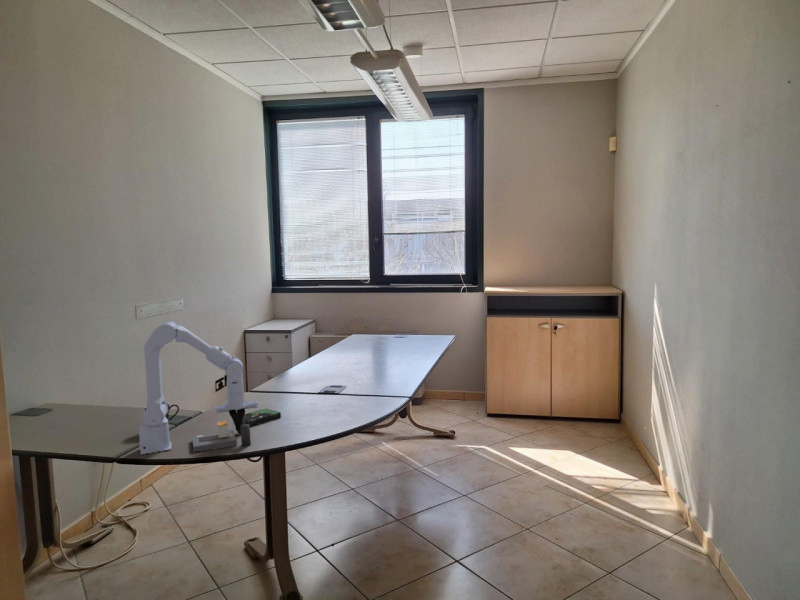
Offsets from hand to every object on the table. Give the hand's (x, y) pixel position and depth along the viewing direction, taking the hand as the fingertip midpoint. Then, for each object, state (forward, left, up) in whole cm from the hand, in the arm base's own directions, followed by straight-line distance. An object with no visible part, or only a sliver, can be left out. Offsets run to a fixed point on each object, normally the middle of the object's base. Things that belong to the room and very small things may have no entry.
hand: (238, 430), depth 192 cm
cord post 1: (+2, +7, -3) cm, 8 cm away
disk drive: (+10, +20, -4) cm, 23 cm away
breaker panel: (-8, 0, -3) cm, 9 cm away
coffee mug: (-25, +25, -4) cm, 36 cm away
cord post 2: (+2, -7, -3) cm, 8 cm away
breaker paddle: (-5, 0, -1) cm, 5 cm away
